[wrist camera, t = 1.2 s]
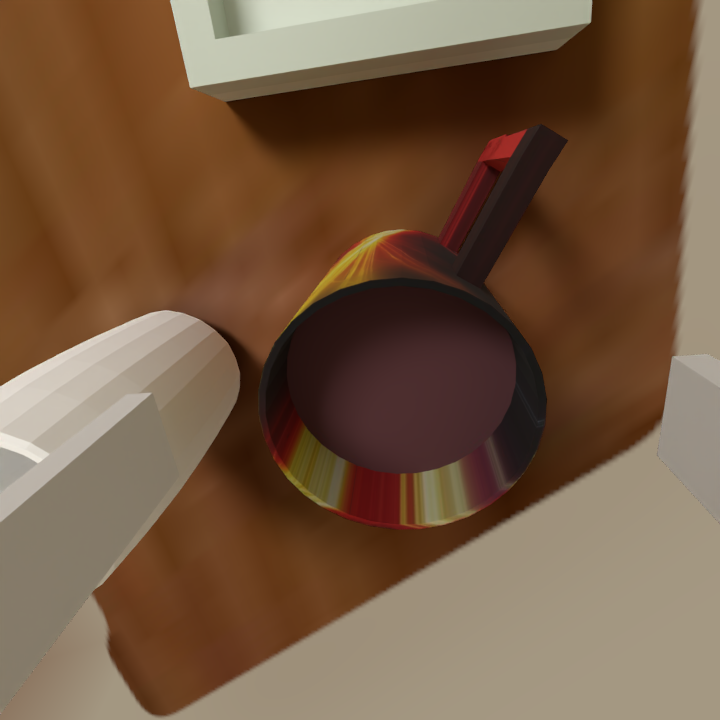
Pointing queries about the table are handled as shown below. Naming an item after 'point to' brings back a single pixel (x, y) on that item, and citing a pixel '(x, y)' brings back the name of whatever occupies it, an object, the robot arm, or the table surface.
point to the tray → (357, 39)
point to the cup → (115, 380)
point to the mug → (414, 364)
